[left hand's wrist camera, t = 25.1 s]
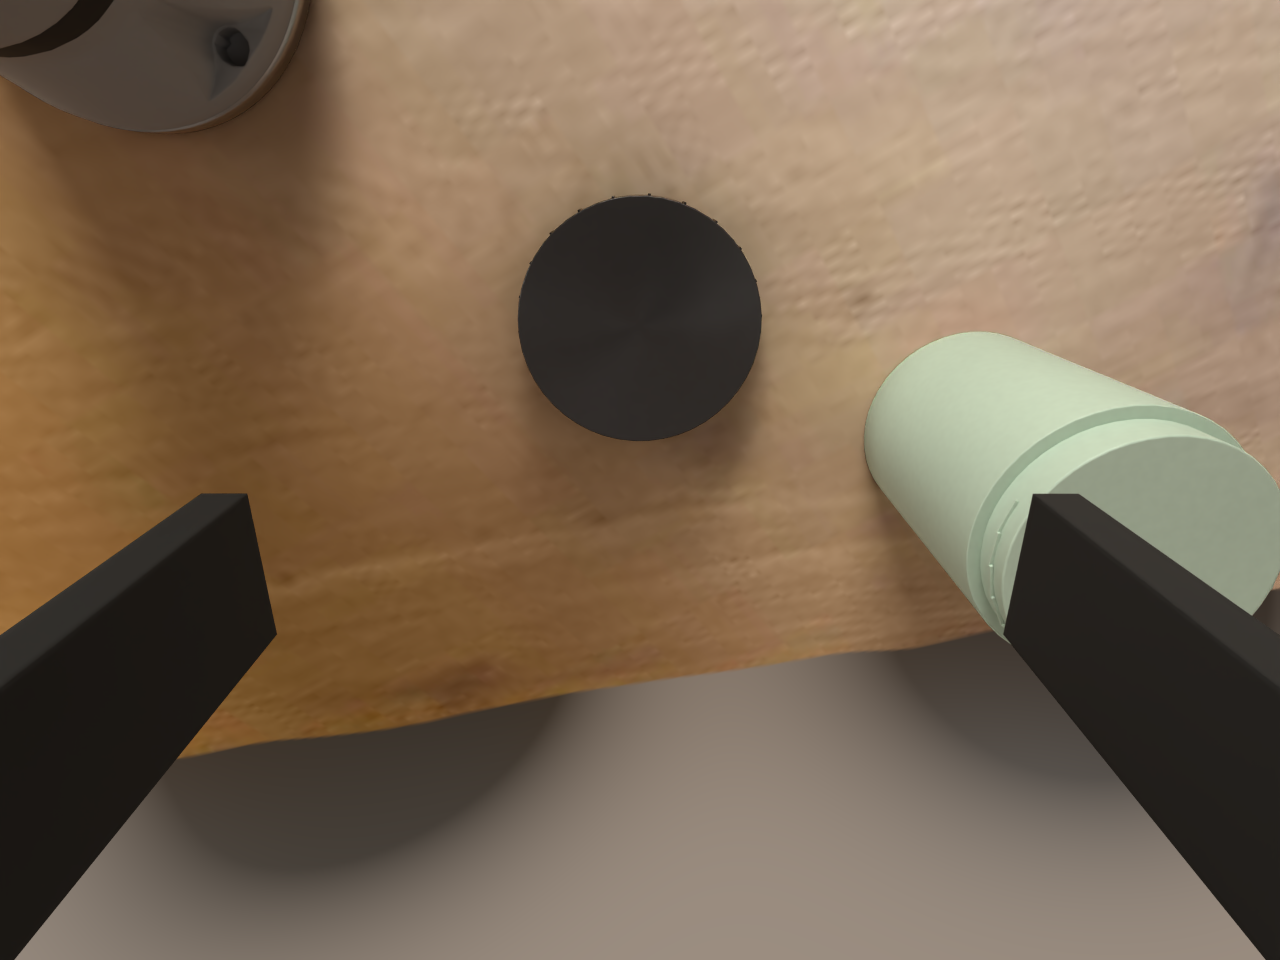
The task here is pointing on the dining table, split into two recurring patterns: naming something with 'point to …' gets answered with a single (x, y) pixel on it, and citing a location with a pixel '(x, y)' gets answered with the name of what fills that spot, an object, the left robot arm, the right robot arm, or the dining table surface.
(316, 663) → the dining table surface
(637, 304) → the lid
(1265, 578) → the jar
